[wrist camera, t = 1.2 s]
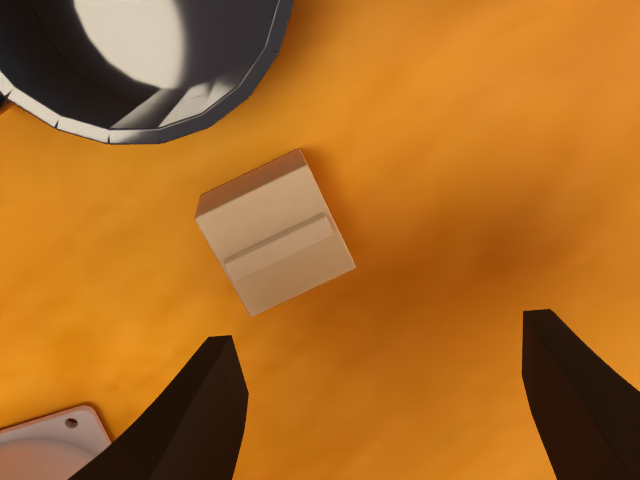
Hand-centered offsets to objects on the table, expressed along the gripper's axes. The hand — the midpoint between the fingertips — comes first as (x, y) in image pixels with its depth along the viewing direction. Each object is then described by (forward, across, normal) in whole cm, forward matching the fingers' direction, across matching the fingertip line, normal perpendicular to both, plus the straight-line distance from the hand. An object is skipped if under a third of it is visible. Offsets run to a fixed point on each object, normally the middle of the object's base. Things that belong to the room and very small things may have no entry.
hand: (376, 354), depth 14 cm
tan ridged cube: (+10, +4, +1) cm, 11 cm away
